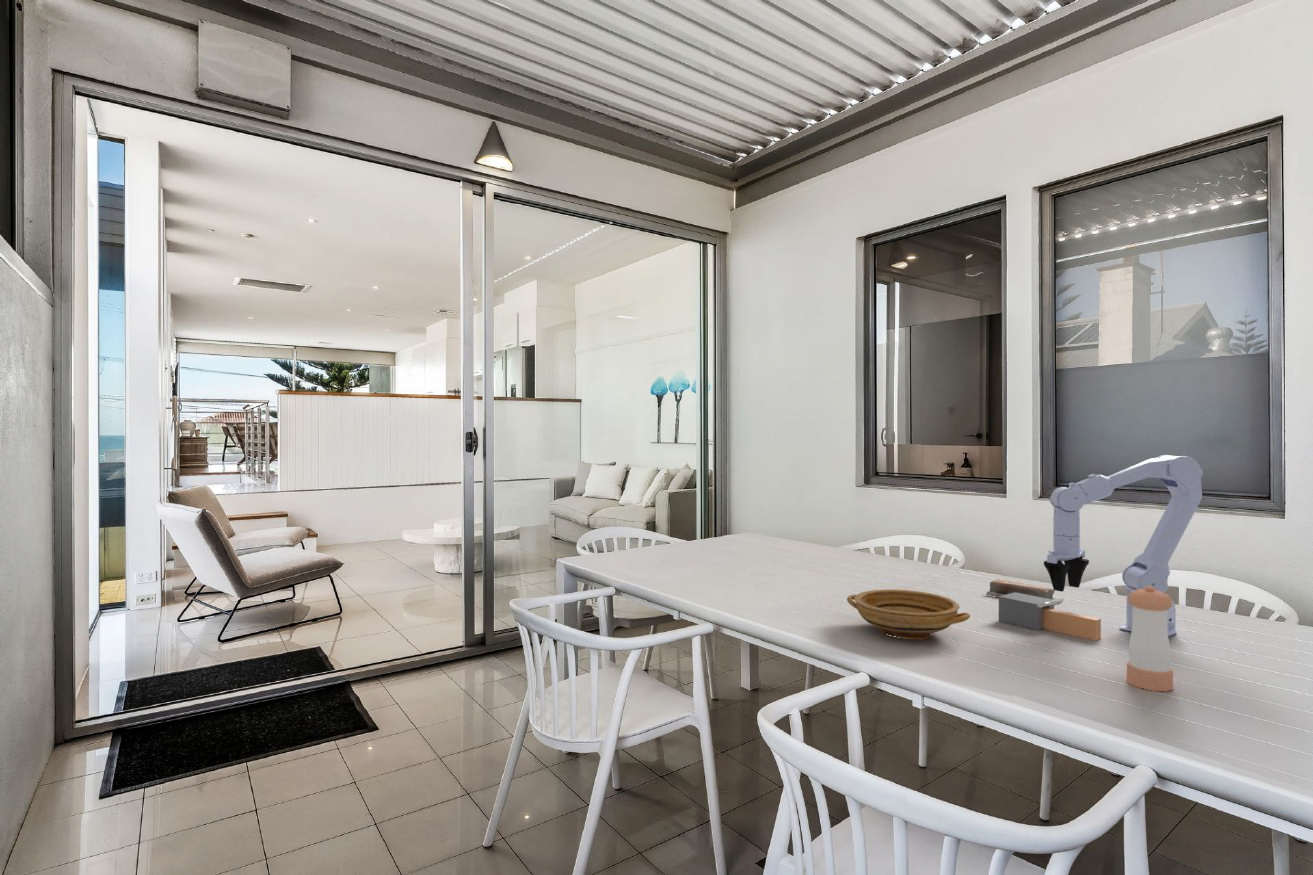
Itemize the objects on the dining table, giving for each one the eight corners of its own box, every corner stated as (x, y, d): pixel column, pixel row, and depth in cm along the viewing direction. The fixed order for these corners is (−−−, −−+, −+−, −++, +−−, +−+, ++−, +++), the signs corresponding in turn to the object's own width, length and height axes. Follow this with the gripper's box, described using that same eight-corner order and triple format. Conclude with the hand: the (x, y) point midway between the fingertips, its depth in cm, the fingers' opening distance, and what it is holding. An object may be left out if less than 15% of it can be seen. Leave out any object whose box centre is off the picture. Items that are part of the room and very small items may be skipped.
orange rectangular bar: (1100, 639, 161) (1100, 618, 161) (1096, 641, 160) (1096, 620, 160) (1032, 624, 175) (1032, 604, 175) (1027, 625, 173) (1027, 606, 173)
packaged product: (985, 581, 204) (1000, 576, 211) (985, 597, 204) (1000, 592, 211) (1049, 591, 190) (1064, 586, 196) (1049, 609, 190) (1063, 603, 196)
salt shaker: (1153, 693, 128) (1154, 592, 127) (1117, 680, 135) (1117, 583, 134) (1182, 689, 130) (1182, 589, 130) (1145, 676, 137) (1145, 581, 136)
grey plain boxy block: (1057, 625, 172) (1057, 600, 172) (1040, 631, 168) (1040, 605, 168) (1015, 616, 181) (1015, 592, 181) (998, 621, 177) (998, 596, 177)
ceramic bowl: (983, 633, 166) (983, 600, 166) (953, 658, 148) (953, 622, 148) (867, 612, 185) (867, 583, 185) (827, 632, 167) (827, 600, 167)
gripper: (1064, 530, 179) (1064, 582, 179) (1034, 535, 171) (1034, 589, 171) (1093, 534, 173) (1093, 587, 173) (1064, 539, 165) (1064, 594, 165)
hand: (1066, 588), depth 171 cm, fingers open, 7 cm apart
